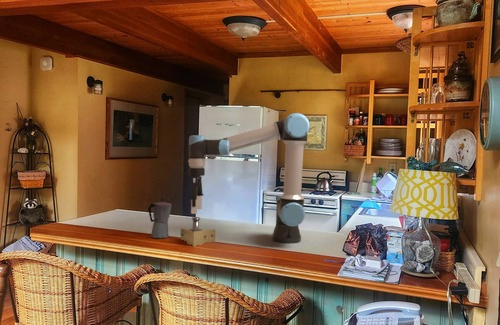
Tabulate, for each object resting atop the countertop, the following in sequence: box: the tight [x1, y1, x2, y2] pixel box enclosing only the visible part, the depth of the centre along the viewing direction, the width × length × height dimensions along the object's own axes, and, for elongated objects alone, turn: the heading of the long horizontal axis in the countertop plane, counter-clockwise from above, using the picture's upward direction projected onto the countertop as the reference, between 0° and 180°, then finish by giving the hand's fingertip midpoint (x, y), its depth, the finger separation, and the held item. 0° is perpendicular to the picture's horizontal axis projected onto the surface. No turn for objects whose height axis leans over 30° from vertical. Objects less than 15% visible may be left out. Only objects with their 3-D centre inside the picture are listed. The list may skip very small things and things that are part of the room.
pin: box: [192, 216, 201, 231], centre depth 195 cm, size 4×4×13 cm
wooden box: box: [180, 227, 216, 247], centre depth 201 cm, size 15×15×7 cm
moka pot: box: [147, 198, 172, 239], centre depth 208 cm, size 10×15×20 cm, turn 149°
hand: (196, 211), depth 195 cm, fingers open, 13 cm apart
